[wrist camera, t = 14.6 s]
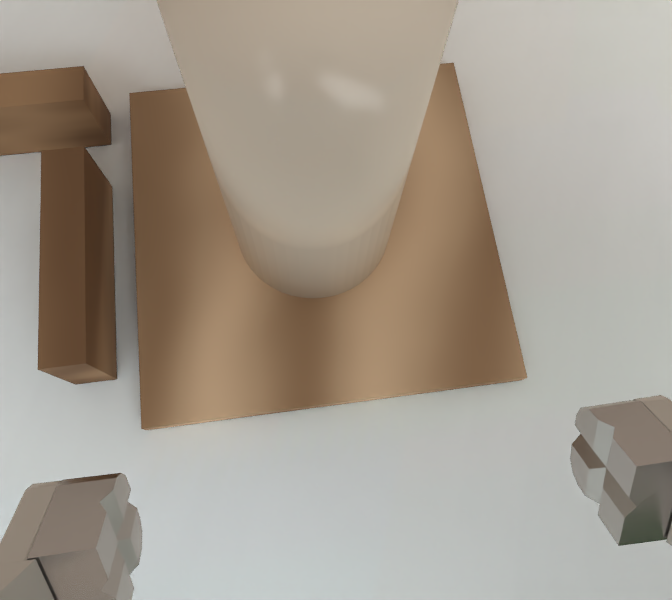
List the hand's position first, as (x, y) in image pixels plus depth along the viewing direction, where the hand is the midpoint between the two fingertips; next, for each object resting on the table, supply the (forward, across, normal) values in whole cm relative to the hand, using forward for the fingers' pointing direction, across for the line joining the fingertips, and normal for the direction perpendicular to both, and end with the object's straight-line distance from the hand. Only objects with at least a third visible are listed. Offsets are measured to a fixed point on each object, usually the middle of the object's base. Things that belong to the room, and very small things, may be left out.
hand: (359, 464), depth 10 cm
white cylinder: (+15, 0, 0) cm, 15 cm away
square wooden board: (+14, 0, +1) cm, 14 cm away
